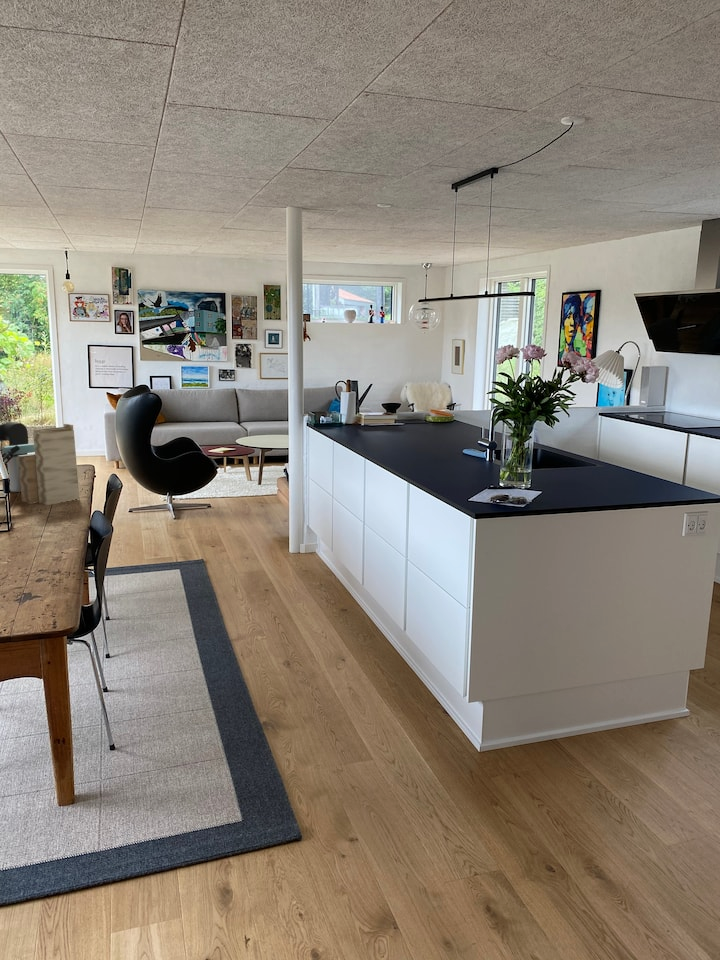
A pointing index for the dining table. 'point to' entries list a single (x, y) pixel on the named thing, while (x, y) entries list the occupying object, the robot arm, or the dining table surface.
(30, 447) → the teal block
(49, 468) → the birch stand
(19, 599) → the dining table surface
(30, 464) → the oak step
